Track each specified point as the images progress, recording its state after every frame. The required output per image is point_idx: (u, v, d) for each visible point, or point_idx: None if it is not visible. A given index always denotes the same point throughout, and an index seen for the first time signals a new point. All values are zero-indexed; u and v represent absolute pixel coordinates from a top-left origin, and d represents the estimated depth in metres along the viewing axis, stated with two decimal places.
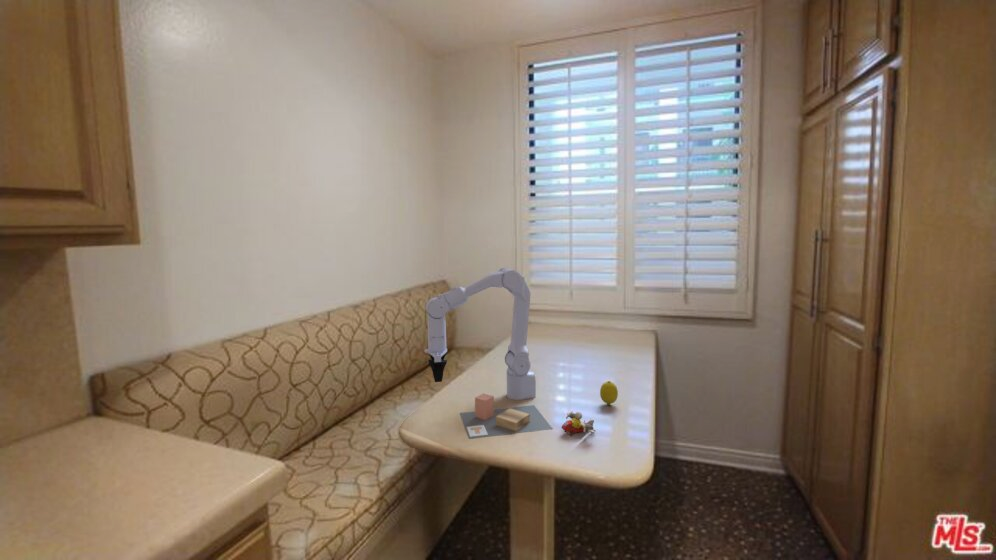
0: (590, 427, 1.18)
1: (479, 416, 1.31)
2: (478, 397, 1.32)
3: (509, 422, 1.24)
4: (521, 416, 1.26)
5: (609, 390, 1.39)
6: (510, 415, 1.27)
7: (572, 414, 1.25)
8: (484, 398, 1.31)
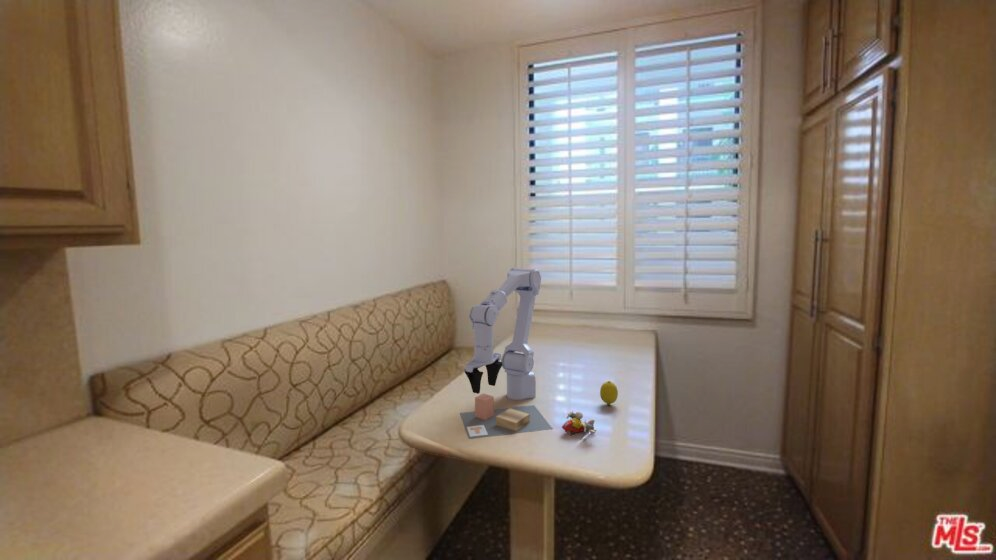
0: (591, 427, 1.18)
1: (479, 416, 1.31)
2: (478, 397, 1.32)
3: (509, 422, 1.24)
4: (521, 416, 1.26)
5: (609, 390, 1.39)
6: (510, 415, 1.27)
7: (573, 414, 1.25)
8: (484, 398, 1.31)
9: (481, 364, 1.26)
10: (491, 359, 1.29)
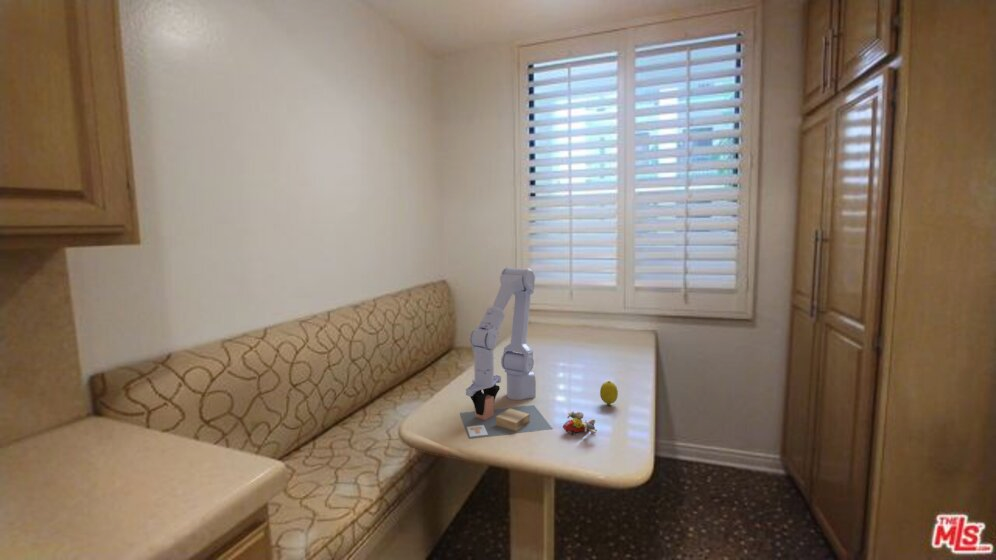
0: (591, 427, 1.19)
1: (479, 416, 1.31)
2: None
3: (509, 422, 1.24)
4: (521, 416, 1.26)
5: (609, 390, 1.39)
6: (510, 415, 1.27)
7: (573, 414, 1.25)
8: None
9: (481, 388, 1.27)
10: (491, 382, 1.30)
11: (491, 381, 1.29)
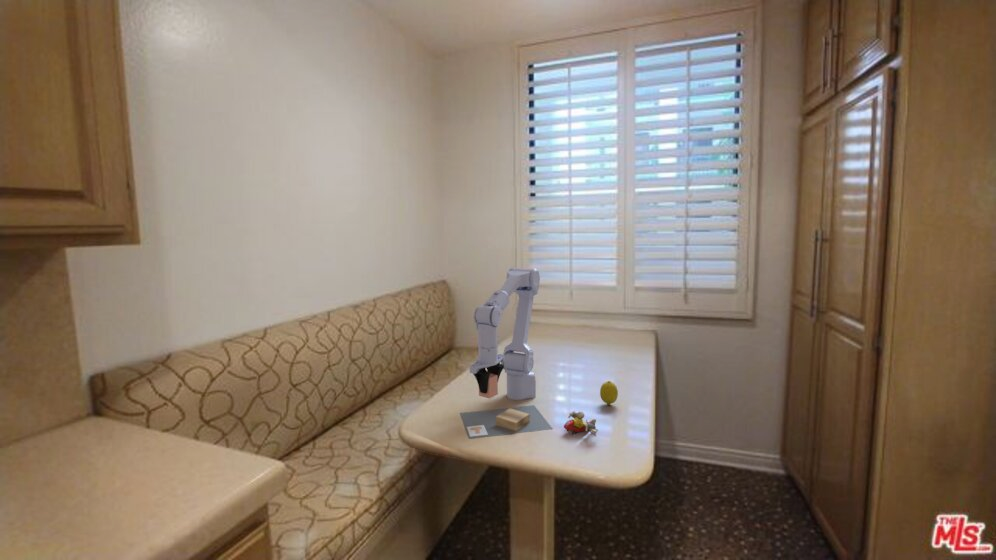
0: (592, 426, 1.19)
1: (483, 395, 1.30)
2: None
3: (509, 422, 1.24)
4: (521, 416, 1.26)
5: (609, 390, 1.39)
6: (510, 415, 1.27)
7: (574, 413, 1.25)
8: None
9: (485, 365, 1.26)
10: (495, 360, 1.28)
11: (495, 359, 1.28)
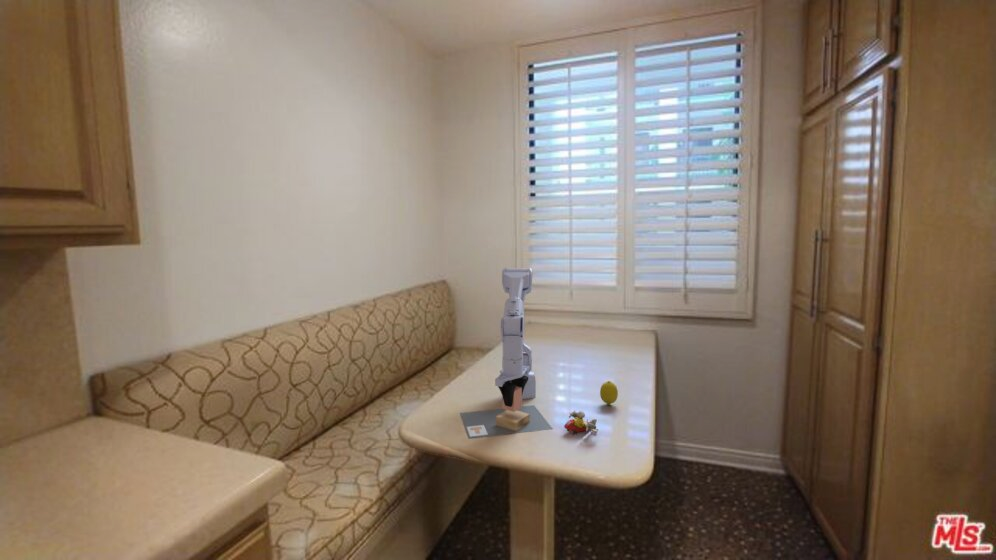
0: (593, 426, 1.19)
1: (507, 408, 1.25)
2: None
3: (509, 422, 1.24)
4: (521, 416, 1.26)
5: (609, 390, 1.39)
6: (510, 415, 1.27)
7: (575, 413, 1.25)
8: None
9: (511, 378, 1.22)
10: (521, 372, 1.24)
11: (520, 371, 1.24)
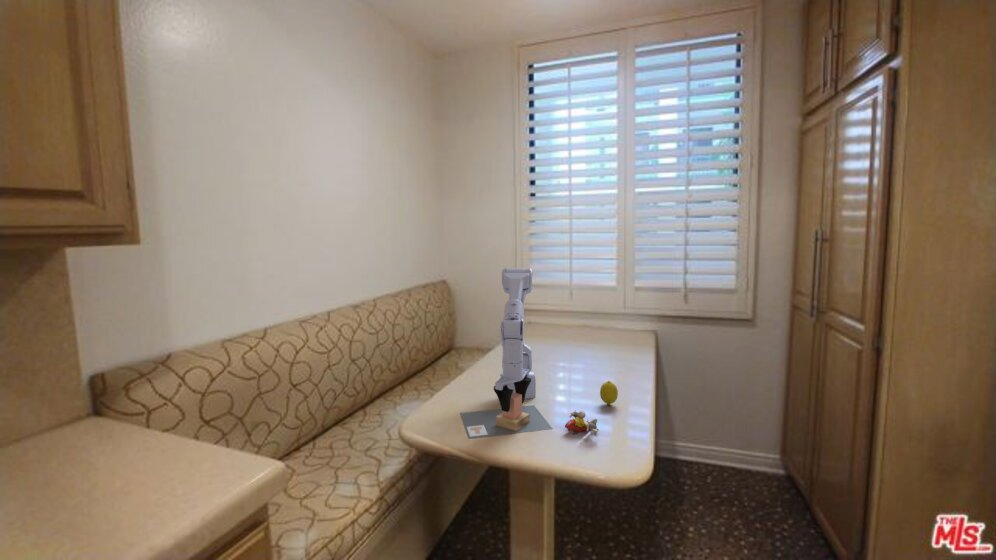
0: (593, 426, 1.19)
1: (507, 415, 1.26)
2: None
3: (509, 422, 1.24)
4: (521, 416, 1.26)
5: (609, 390, 1.39)
6: None
7: (575, 413, 1.26)
8: (512, 396, 1.25)
9: (511, 381, 1.22)
10: (521, 376, 1.24)
11: (520, 374, 1.24)
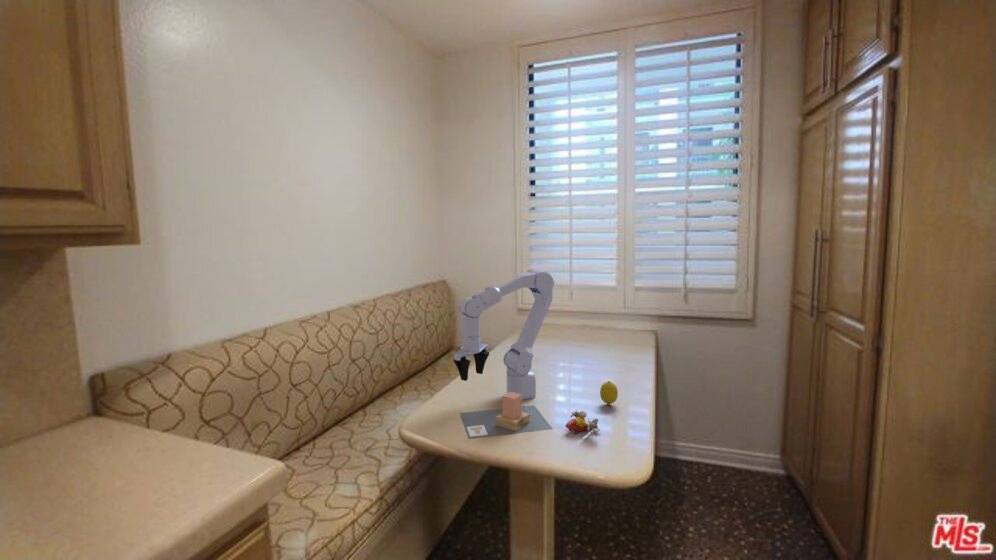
0: (594, 426, 1.19)
1: (507, 415, 1.26)
2: (506, 395, 1.26)
3: (509, 422, 1.24)
4: (521, 416, 1.26)
5: (609, 390, 1.39)
6: None
7: (576, 413, 1.26)
8: (512, 396, 1.25)
9: (468, 353, 1.36)
10: (478, 348, 1.38)
11: (478, 347, 1.38)
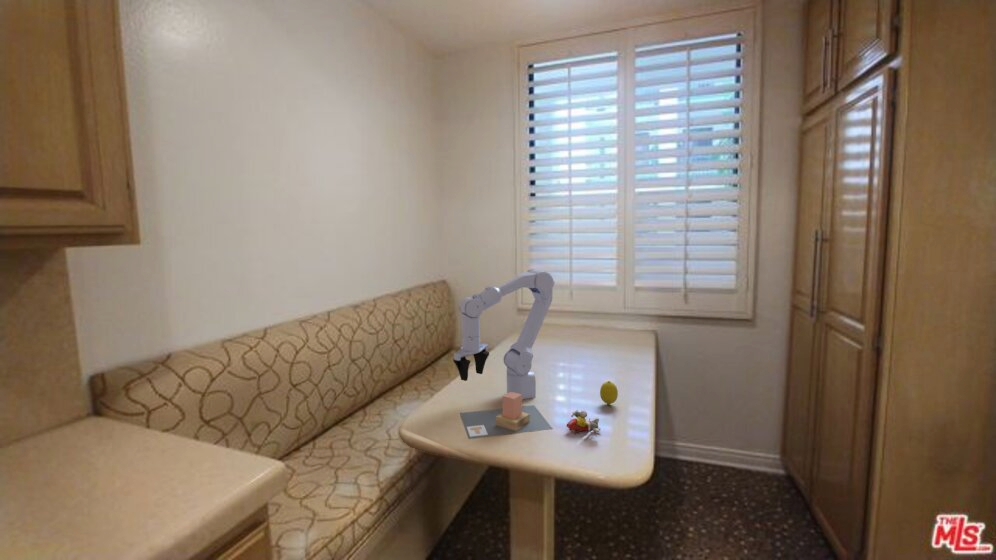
0: (595, 425, 1.19)
1: (507, 415, 1.26)
2: (506, 395, 1.26)
3: (509, 422, 1.24)
4: (521, 416, 1.26)
5: (609, 390, 1.39)
6: None
7: (577, 412, 1.26)
8: (512, 396, 1.25)
9: (468, 353, 1.36)
10: (478, 348, 1.38)
11: (478, 347, 1.38)
